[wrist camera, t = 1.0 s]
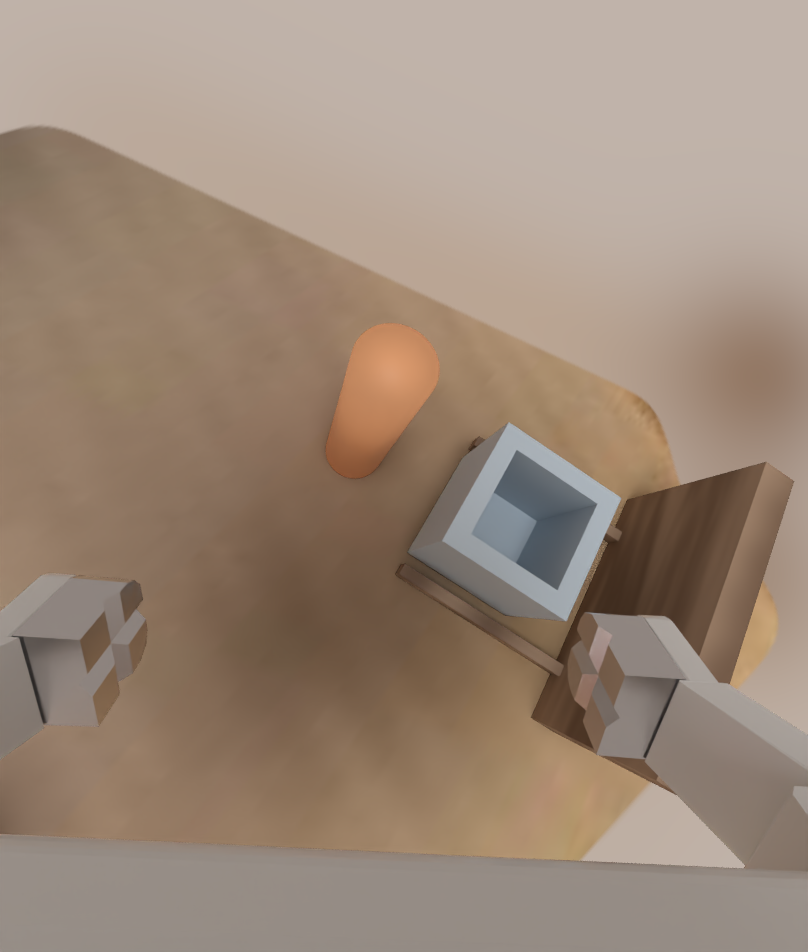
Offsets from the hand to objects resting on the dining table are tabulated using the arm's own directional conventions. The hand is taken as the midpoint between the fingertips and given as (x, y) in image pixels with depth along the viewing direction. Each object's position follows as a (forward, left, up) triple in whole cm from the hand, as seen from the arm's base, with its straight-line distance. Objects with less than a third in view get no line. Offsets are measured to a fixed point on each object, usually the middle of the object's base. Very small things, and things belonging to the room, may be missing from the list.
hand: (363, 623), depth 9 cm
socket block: (+8, +10, -24) cm, 27 cm away
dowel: (-3, +10, -24) cm, 26 cm away
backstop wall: (+12, +10, -24) cm, 29 cm away
